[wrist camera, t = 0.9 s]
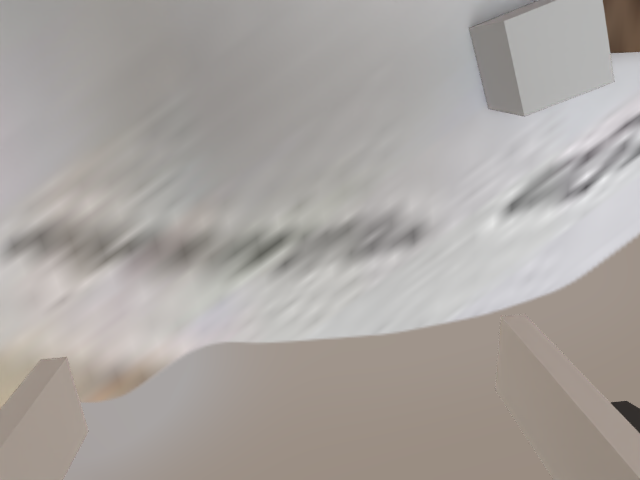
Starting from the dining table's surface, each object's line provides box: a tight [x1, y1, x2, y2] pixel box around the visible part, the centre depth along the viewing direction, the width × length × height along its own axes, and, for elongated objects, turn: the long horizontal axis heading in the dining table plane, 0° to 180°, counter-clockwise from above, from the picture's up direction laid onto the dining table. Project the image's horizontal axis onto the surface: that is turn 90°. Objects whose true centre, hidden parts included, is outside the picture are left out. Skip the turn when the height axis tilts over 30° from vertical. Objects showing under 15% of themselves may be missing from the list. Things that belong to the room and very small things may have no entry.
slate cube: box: [469, 0, 615, 116], centre depth 33 cm, size 6×6×6 cm
